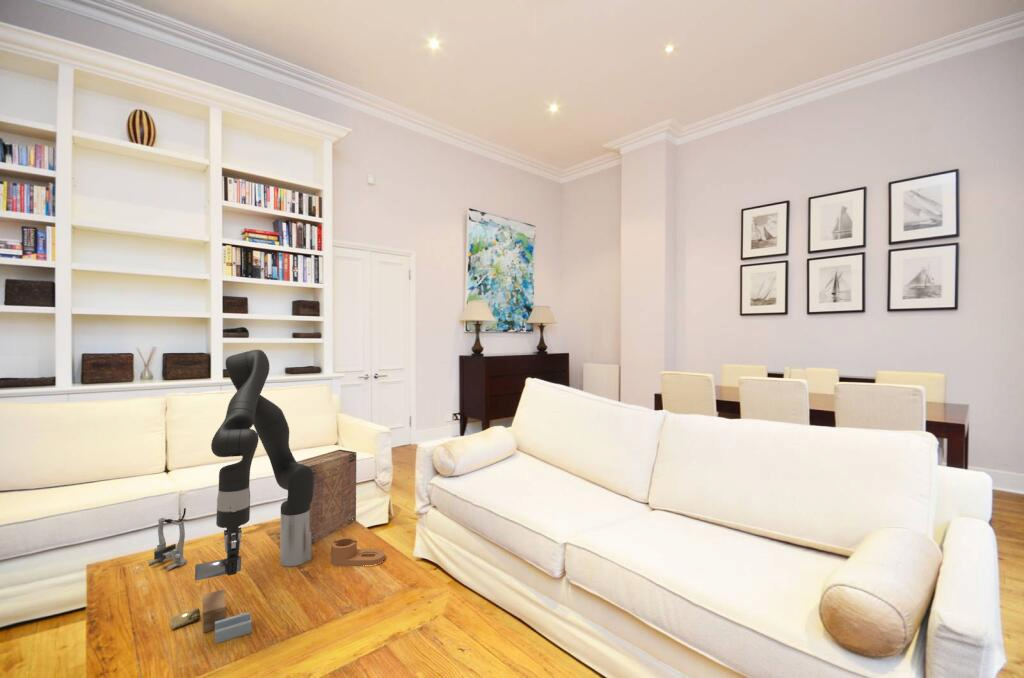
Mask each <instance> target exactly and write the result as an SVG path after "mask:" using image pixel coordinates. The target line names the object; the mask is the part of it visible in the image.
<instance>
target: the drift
mask: <svg viewBox="0 0 1024 678" xmlns="http://www.w3.org/2000/svg"><path fill="white" fill-rule="evenodd" d="M199 620H201V611H200V607H196V608H193V609H191V610H188V611H186V612H183V613H179V614H177V615H175V616H172V617H170V626H171V629H172V630H175V629H177V628H180V627H183V626H185V625H188V624H192V623H193V622H194V623H195V622H197V621H199Z"/></svg>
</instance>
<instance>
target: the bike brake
mask: <svg viewBox="0 0 1024 678" xmlns="http://www.w3.org/2000/svg"><path fill="white" fill-rule="evenodd" d="M186 512H187V508H186V507H183V512H182V513H183V514H182V517H181V519H172V518H166V517H161V518H159V519H157V521H158V525H157V536H158V545H156V548H154V549H153V551H154V552H153V555H154V559H152V560H149V561H148V562H147V564H148V565H152V564H154V563H157V562H161V563H163V562H165V561H167V560H170V559H172V563H173V564H171V565H167V566H166V570H168V571H169V570H171V569H173V568H176V567H183V566H184V565H185V564H186V563H187V561H188V560H187V558H184V545H185V537H186V535H185V533H186V532H185V522H184V519H185V516H186ZM164 523H167V524H172V525H176V526H178V529H179V538H178V541H177V545H176V543H173V544H171V545H169V546H167V542H166V538H165V535H164Z"/></svg>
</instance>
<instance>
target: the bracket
mask: <svg viewBox="0 0 1024 678" xmlns="http://www.w3.org/2000/svg"><path fill="white" fill-rule="evenodd" d="M330 544H331V546H330V557H331V558H330V564H331V565H332V566H334V567H338V566H363V565H364V566H365V565H374V564H378V563H380V562H382V561H383V560H384V559H385V560H386V552H385V550H383V549H381V548H358V545H357V544H358V540H357V539H356V538H355V537H352V536H351V537H350V536H349V537H348V536H346V537H345V536H344V537H340V538H336V539H334V540H333V542H331V543H330ZM385 560H384V561H385Z"/></svg>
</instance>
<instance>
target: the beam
mask: <svg viewBox="0 0 1024 678" xmlns="http://www.w3.org/2000/svg"><path fill="white" fill-rule="evenodd" d="M226 606H227V604H226V596H225V589H220V590H216V591H212V592H208V593H204V594H202V620H203V621H202V632H203V633H207V632H211V631H215V621H219V620H222V619H226V618H227V614H226V613H227V612H226V611H227V609H226V608H227V607H226Z"/></svg>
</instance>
